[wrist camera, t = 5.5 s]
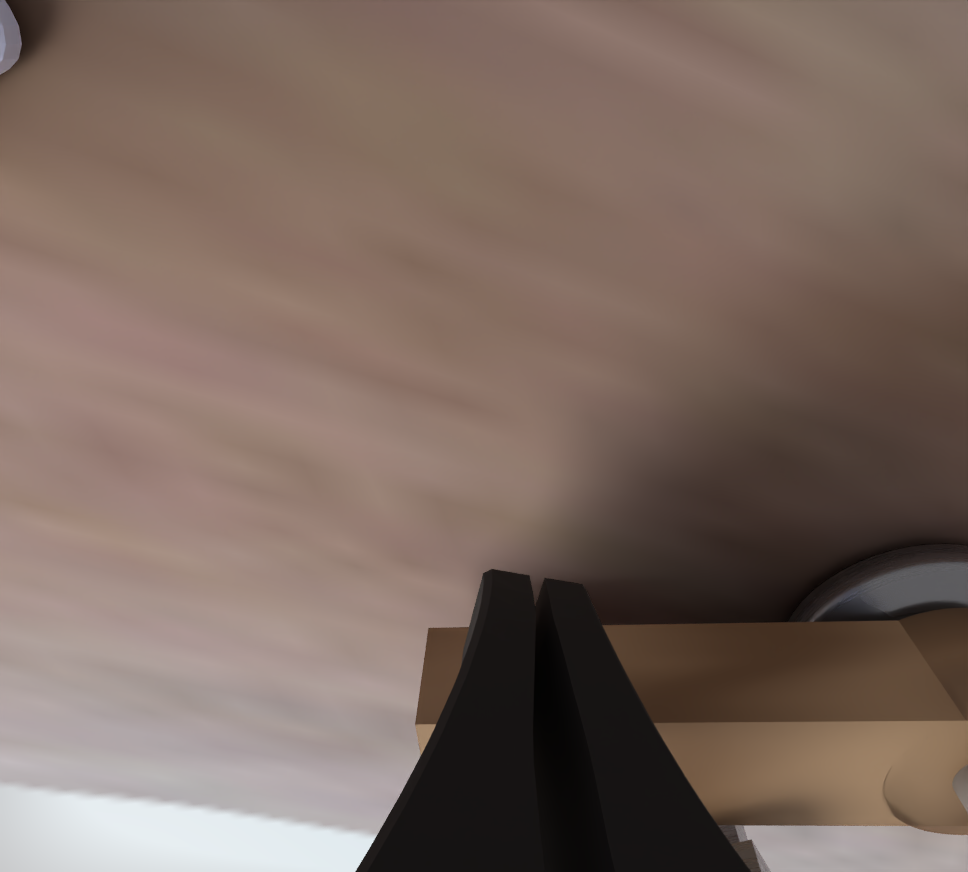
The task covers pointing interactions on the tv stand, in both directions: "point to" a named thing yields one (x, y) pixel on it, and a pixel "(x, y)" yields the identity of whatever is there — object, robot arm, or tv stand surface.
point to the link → (793, 715)
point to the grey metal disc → (892, 586)
